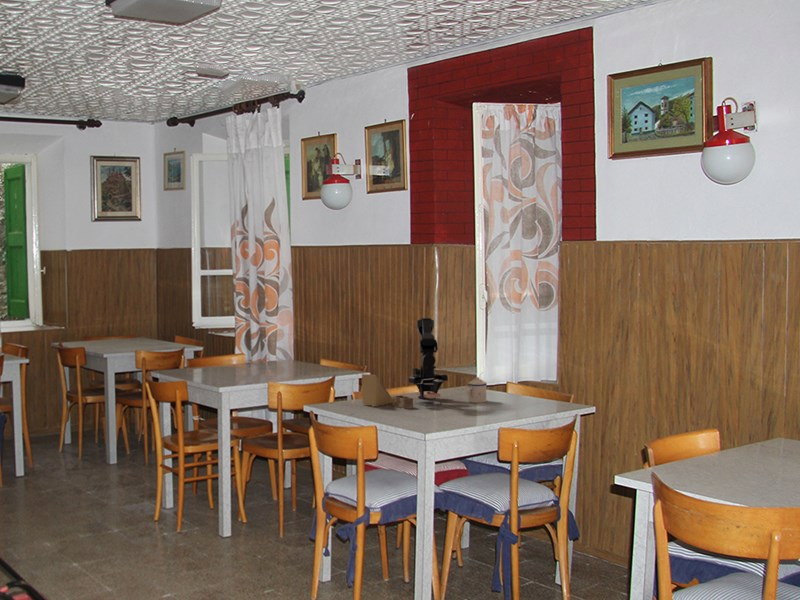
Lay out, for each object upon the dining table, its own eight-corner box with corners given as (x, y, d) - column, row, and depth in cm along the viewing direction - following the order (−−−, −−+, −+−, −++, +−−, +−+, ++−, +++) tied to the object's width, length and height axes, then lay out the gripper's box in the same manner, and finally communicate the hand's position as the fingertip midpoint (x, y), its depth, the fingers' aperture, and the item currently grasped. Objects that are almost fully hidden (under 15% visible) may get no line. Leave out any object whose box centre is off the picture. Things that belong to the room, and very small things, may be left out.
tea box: (392, 405, 426) (392, 396, 426) (402, 404, 429) (402, 395, 429) (403, 408, 418) (403, 399, 418) (413, 407, 420) (413, 398, 420)
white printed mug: (475, 399, 442) (475, 375, 442) (490, 401, 436) (490, 377, 436) (460, 402, 434) (460, 378, 433) (475, 404, 427) (475, 379, 427)
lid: (416, 396, 433) (416, 390, 433) (428, 395, 436) (428, 389, 436) (428, 399, 424) (428, 393, 424) (440, 398, 427) (440, 392, 427)
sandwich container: (396, 402, 437) (395, 371, 436) (376, 407, 425) (376, 375, 424) (382, 400, 442) (381, 370, 441) (362, 405, 430) (361, 373, 429)
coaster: (431, 401, 436) (431, 400, 436) (441, 404, 429) (441, 403, 428) (415, 403, 432) (415, 402, 432) (425, 406, 424) (425, 405, 424)
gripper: (436, 360, 441) (436, 392, 442) (402, 363, 432) (402, 396, 433) (448, 363, 431) (448, 395, 432) (414, 366, 422) (414, 399, 423)
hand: (428, 396), depth 430 cm, fingers closed on lid, 7 cm apart
